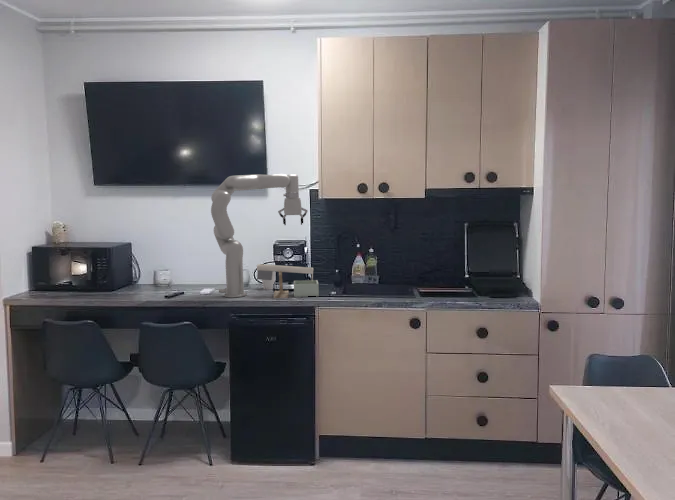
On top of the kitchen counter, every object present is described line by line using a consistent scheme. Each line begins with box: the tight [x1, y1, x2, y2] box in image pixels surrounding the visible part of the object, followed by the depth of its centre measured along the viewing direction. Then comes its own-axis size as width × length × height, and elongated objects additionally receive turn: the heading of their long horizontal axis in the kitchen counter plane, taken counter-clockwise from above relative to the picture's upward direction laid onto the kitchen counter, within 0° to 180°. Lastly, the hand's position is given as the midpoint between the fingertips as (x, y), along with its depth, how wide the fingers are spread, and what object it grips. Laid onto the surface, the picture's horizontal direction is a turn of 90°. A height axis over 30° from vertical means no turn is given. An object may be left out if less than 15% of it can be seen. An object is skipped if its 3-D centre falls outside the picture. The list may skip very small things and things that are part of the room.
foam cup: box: [261, 271, 277, 291], centre depth 363 cm, size 10×9×13 cm
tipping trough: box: [256, 263, 314, 281], centre depth 343 cm, size 31×17×8 cm, turn 94°
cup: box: [293, 279, 320, 298], centre depth 340 cm, size 14×14×7 cm
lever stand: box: [273, 271, 289, 299], centre depth 339 cm, size 8×14×14 cm, turn 4°
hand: (293, 224), depth 355 cm, fingers open, 9 cm apart
